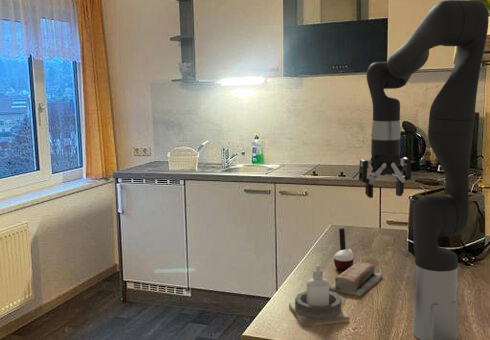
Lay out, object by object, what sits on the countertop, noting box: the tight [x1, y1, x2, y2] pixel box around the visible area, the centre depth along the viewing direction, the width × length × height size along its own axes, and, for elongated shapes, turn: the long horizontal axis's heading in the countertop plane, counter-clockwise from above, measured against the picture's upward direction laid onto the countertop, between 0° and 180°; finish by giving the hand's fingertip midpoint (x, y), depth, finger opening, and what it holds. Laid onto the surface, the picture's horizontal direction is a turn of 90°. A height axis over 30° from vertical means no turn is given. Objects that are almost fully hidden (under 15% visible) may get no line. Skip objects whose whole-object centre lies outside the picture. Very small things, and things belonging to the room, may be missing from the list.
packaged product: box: [329, 262, 383, 297], centre depth 159 cm, size 18×5×10 cm
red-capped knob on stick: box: [333, 227, 355, 272], centre depth 171 cm, size 10×6×12 cm, turn 156°
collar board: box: [288, 290, 350, 328], centre depth 137 cm, size 12×12×4 cm
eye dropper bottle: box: [306, 264, 330, 306], centre depth 137 cm, size 4×6×12 cm
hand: (384, 196), depth 146 cm, fingers open, 8 cm apart
